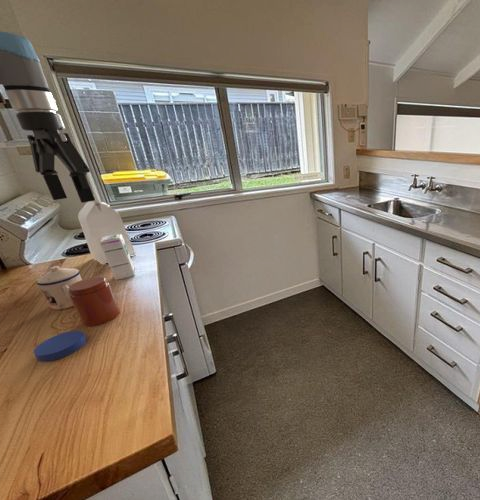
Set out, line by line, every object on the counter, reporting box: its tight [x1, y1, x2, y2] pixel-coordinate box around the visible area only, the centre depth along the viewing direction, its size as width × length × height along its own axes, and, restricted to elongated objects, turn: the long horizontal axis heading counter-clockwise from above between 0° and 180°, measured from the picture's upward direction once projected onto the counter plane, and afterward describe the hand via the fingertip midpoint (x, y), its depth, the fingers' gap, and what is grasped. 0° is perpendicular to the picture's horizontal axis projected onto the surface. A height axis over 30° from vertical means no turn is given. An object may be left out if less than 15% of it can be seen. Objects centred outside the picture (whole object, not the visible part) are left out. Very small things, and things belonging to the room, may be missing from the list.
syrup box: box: [99, 234, 136, 281], centre depth 98 cm, size 6×6×14 cm
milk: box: [77, 194, 137, 265], centre depth 113 cm, size 12×12×26 cm
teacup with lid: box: [36, 265, 83, 311], centre depth 82 cm, size 12×9×12 cm
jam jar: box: [68, 276, 121, 327], centre depth 75 cm, size 8×8×10 cm
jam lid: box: [33, 330, 87, 363], centre depth 65 cm, size 8×8×2 cm
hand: (74, 200), depth 76 cm, fingers open, 13 cm apart
